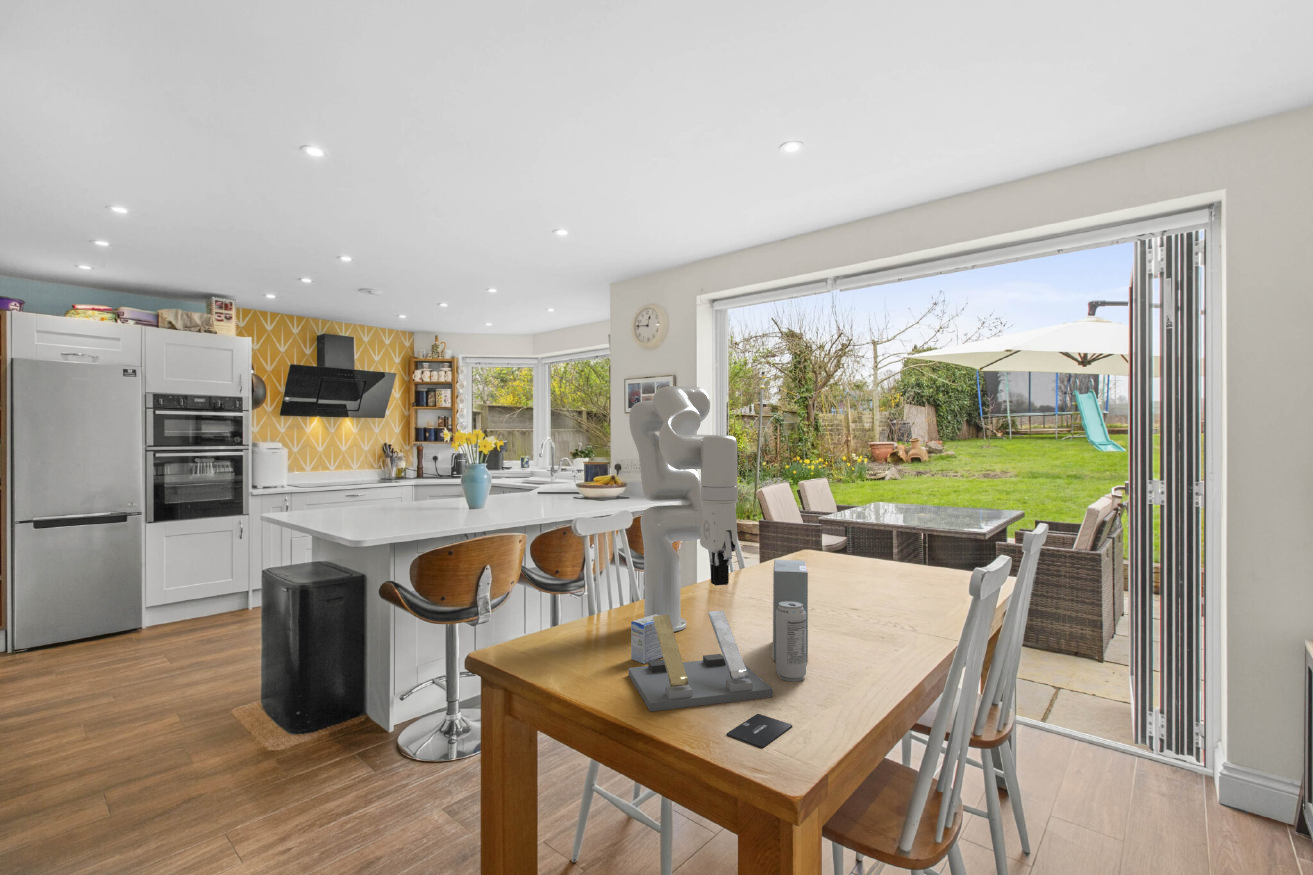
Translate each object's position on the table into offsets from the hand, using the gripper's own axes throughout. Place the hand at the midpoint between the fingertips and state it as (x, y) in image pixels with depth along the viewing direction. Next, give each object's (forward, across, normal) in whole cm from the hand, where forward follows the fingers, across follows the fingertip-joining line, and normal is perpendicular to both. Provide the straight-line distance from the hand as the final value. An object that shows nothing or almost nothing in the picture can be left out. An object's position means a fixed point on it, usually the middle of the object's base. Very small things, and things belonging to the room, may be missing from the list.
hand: (719, 583), depth 126 cm
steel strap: (+12, +4, 0) cm, 12 cm away
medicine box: (+19, -15, -11) cm, 27 cm away
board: (+19, +3, -6) cm, 20 cm away
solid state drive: (+20, +24, -2) cm, 31 cm away
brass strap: (+12, +4, -12) cm, 17 cm away
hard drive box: (+19, -10, +21) cm, 30 cm away
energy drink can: (+19, +4, +14) cm, 24 cm away
